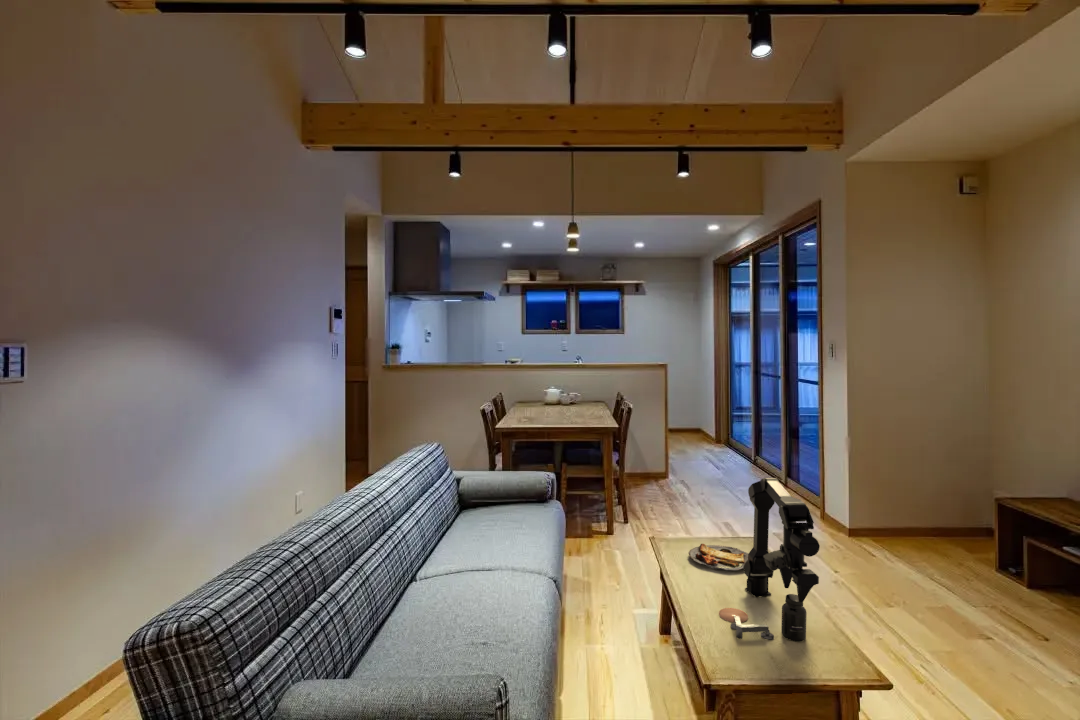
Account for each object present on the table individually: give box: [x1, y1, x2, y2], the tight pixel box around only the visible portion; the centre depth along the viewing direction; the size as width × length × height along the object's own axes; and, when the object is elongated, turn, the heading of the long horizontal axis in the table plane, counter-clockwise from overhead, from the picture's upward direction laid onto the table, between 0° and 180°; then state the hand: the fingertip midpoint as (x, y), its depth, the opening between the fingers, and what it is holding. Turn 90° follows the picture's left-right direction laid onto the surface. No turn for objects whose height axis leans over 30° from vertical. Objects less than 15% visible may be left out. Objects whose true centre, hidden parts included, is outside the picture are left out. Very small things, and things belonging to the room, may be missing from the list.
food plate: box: [688, 543, 749, 571], centre depth 226 cm, size 25×23×4 cm
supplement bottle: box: [780, 593, 808, 643], centre depth 168 cm, size 7×7×12 cm
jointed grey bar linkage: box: [730, 616, 775, 641], centre depth 171 cm, size 11×11×4 cm
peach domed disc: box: [718, 607, 749, 624], centre depth 181 cm, size 9×9×1 cm
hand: (793, 594), depth 168 cm, fingers open, 9 cm apart
